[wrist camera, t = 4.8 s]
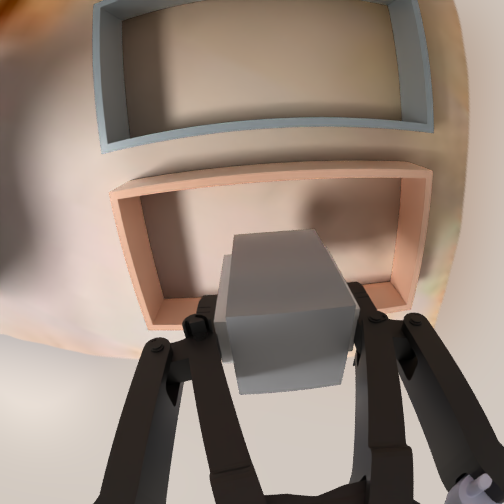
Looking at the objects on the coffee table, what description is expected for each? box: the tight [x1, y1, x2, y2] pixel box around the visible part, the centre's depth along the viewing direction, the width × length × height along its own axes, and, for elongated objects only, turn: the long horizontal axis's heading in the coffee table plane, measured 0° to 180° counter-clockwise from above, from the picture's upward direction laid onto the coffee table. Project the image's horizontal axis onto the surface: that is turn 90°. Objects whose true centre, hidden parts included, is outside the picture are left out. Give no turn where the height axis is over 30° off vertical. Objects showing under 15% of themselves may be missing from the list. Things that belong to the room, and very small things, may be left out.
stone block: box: [225, 229, 356, 395], centre depth 15 cm, size 5×5×8 cm
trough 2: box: [109, 160, 433, 330], centre depth 22 cm, size 23×12×4 cm, turn 95°
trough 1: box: [92, 0, 434, 154], centre depth 15 cm, size 23×12×4 cm, turn 95°
